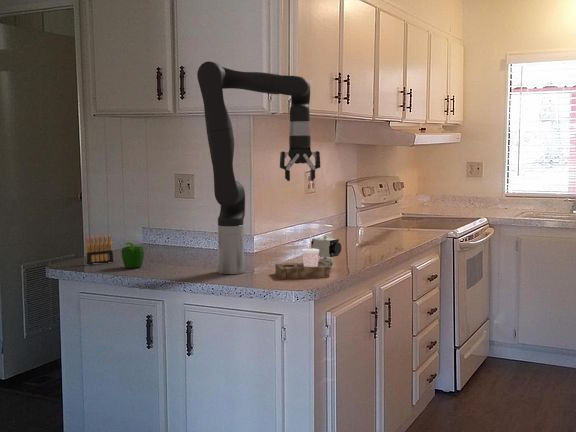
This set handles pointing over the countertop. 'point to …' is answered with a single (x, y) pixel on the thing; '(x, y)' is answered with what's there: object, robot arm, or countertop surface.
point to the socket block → (301, 270)
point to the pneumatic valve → (326, 249)
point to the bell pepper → (132, 256)
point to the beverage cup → (310, 256)
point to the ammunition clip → (99, 250)
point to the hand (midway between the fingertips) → (300, 180)
